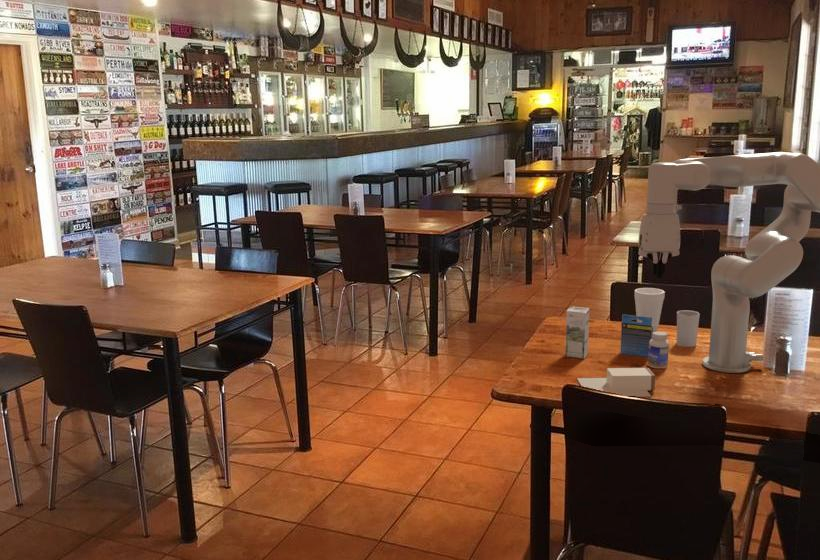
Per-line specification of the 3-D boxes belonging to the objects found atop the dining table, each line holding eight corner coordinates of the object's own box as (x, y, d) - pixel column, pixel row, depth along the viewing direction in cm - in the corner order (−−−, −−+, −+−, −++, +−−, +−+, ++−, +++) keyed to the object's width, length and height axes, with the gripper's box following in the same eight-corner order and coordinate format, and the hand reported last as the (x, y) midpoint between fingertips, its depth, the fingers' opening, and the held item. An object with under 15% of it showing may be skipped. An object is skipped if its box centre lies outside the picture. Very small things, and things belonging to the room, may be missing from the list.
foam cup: (643, 323, 254) (645, 286, 252) (667, 329, 247) (670, 291, 245) (627, 328, 249) (629, 291, 246) (651, 334, 242) (653, 295, 239)
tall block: (648, 367, 198) (606, 368, 198) (655, 375, 192) (612, 375, 192) (647, 382, 198) (606, 382, 199) (654, 390, 193) (611, 390, 193)
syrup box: (588, 353, 224) (589, 307, 221) (584, 359, 219) (585, 312, 215) (569, 351, 226) (570, 305, 223) (564, 357, 221) (566, 310, 218)
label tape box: (652, 353, 223) (654, 314, 220) (650, 357, 219) (652, 317, 216) (622, 350, 227) (624, 311, 224) (619, 354, 223) (621, 314, 220)
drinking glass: (699, 347, 228) (702, 316, 225) (677, 347, 229) (679, 315, 226) (695, 341, 234) (697, 310, 232) (673, 340, 235) (675, 310, 233)
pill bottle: (643, 364, 214) (645, 331, 212) (659, 361, 216) (661, 329, 213) (656, 370, 209) (657, 336, 207) (671, 367, 211) (673, 334, 208)
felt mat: (636, 378, 202) (636, 377, 202) (650, 396, 189) (650, 395, 189) (577, 379, 202) (577, 378, 202) (587, 397, 190) (587, 395, 190)
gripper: (684, 207, 201) (680, 273, 205) (629, 208, 201) (626, 274, 205) (694, 210, 194) (690, 279, 198) (636, 211, 194) (633, 280, 198)
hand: (657, 276), depth 201 cm, fingers closed
